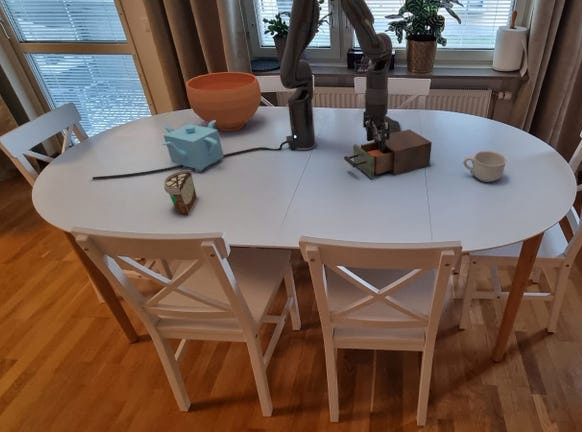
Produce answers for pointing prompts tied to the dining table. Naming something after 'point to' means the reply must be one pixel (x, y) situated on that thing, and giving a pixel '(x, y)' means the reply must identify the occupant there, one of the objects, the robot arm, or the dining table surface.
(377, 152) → the block
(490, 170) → the teacup
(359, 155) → the drawer
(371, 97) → the robot arm
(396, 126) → the dark slate chunk
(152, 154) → the dining table surface
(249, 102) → the bowl
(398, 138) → the cabinet
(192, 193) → the brown and cream wedge
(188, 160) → the teakettle
